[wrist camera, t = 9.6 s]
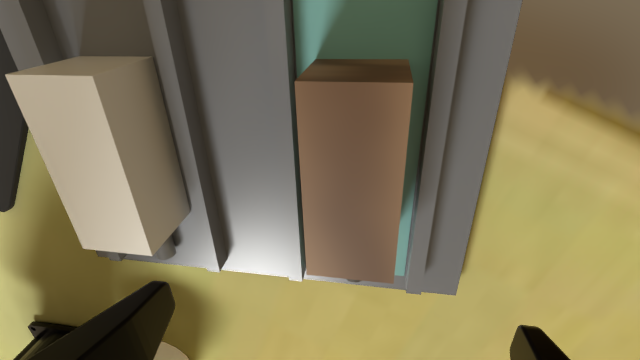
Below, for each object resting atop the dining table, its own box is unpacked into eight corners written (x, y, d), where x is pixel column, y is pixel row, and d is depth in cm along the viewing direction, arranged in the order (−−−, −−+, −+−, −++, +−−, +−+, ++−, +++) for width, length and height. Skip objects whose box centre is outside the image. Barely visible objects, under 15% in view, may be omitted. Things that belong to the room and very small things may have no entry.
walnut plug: (322, 264, 22) (309, 318, 18) (315, 58, 16) (294, 81, 12) (389, 271, 21) (389, 328, 17) (408, 59, 15) (413, 82, 12)
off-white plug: (143, 244, 24) (101, 289, 20) (79, 56, 18) (4, 74, 14) (199, 250, 23) (166, 298, 19) (152, 56, 17) (92, 76, 14)
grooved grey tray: (107, 247, 26) (85, 268, 24) (-11, -47, 17) (-62, -50, 15) (453, 283, 22) (459, 311, 20) (530, -73, 13) (553, -82, 11)
